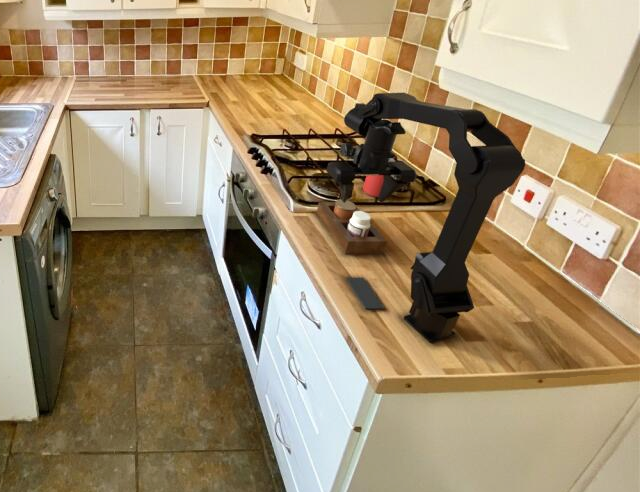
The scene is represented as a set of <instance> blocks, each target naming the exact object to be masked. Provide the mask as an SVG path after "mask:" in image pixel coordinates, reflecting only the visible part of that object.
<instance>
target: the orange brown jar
mask: <svg viewBox="0 0 640 492" xmlns="http://www.w3.org/2000/svg"><path fill="white" fill-rule="evenodd" d="M334 202H335V208H334V212H333V213H334V214H335V216H336V217H337V218H352V216H353V213H354V210H355V208H356V207H357V206H356V204H355V203H354V202H353V201H350V200H347V201H346V203H344V202H343V201H342V198H340V199H337V200H336V201H334ZM352 202H353V203H352Z"/></svg>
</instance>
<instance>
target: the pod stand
mask: <svg viewBox="0 0 640 492" xmlns="http://www.w3.org/2000/svg"><path fill="white" fill-rule="evenodd" d="M335 202H336V201H319V202H318V205H317V209H316V212H315V214H316V216H317V217H318V219H319V220H320V221H321V223H322V224H323V225H324V227H325V228H326V230H327V232H328V233H329V234H330V236H331V237H332V238H333V240H334V241H335V242H336V244H337V245H338V247H339V248H340V249H341V251H342V252H343V253H344V255H383V254H384V252H385V249H386V246H387V243H388V240H386V238H385V237H384V236H383V235H382V234H381V233H380V232H379V230H378V229H377V228H376V227H375V226H374V225H373V224H372V222H370V229H369V232H368V235H367V237H352V236H351V235H350V234H349V232H348V231H347V228H348V225H349V221H350V219H351V218H337V217H336V216H335V214H334V213H333V212H334V208H335ZM351 202H352V203H354V202H353V201H351ZM355 211H361V210H360V209H359V208H358V207H357V206H356V208H355V210H354V212H355Z"/></svg>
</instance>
